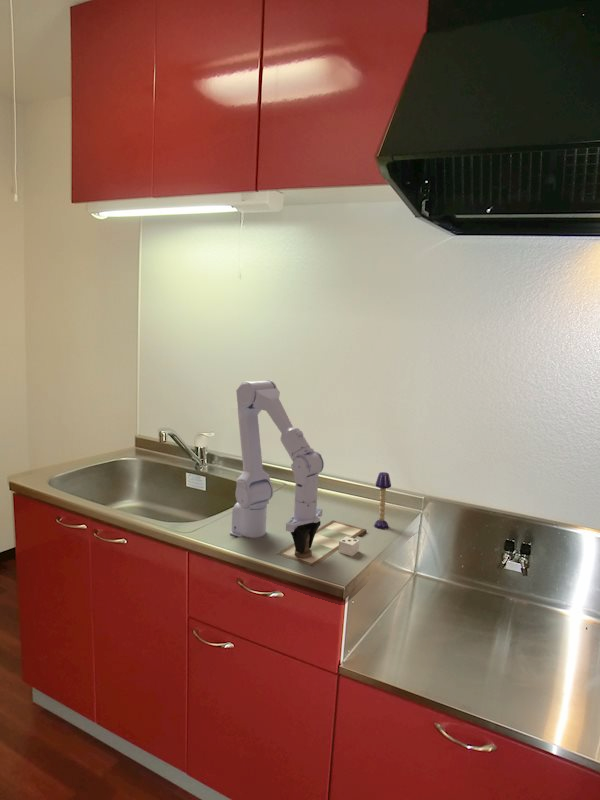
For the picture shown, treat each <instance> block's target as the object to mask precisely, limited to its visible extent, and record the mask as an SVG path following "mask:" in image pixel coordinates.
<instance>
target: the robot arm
mask: <svg viewBox="0 0 600 800" xmlns="http://www.w3.org/2000/svg"><path fill="white" fill-rule="evenodd" d="M236 402H237V416H238V426H239V427H238V428H239V438H240V448H241V449H240V450H241V459H242V469H243V470H242V471H243V472H241V474H240V475H239V476H238V477H237V479H236V481H235V482H236V488H235V493H234V495H235V499H236V503H235V504H234V505H233V507H232V511H231V531H230V532H229V534H230V535H232V536H235V537H238V538H240V537H242V536H244V537H247V538H252V539H253V538H261V537H264V535H266V534H267V533H266V532H267V531H266V530H267V509H268V508H267V507H268V504H269V503H270V500H271V499H272V498H273V496H274V487H273V485H272V482H271V476H270V474H269V473H268V472H266V471H265V470H264V469H263V467H264V466H263V459H262V448H261V435H260V427H259V426H260V425H259V414H260V413H261V412H262V411H264V412H266V413H267V414H268V416H269V417H270V419H271V420H272V422H273V423H274V425H275V426H276V427H277V429H278V431H279V432H280V433H281V435H280V442H281V444H282V445H283V447H284V450H285V451H286V452H287V455H288V456H289V458H290V459H291V461H292V463H291V464H290V467H291V471H292V473H293V481H294V482H295V483H294V484H295V487H294V507H293V509H294V510H293V514H292V516H291V517H290V519H289V521H287V522H286V523H285V531H286V532H289V533H290V535H291V536H292V540H293V544H295V549H296V551H297V552H300V553H304V550H305V544H306V539H307V536H308V533H309V535H310V539H309V549H310V548H311V546H312V542H313V539H314V536H315V533H316V531H317V529H319V528H320V527H321V517H323V508H320V507H318V492H319V491H318V489H319V487H318V486H319V474H320V473H322V471H323V470H324V466H325V463H324V459H323V457H322V454H321V453H320V452H318V451H316V450H314V448H312V447H311V446H310V444H309V443H308V441H307V439H306V437H305V436H304V433H303V432H302V430H301V429H300V428H298V427H294V426H293V424H292V422H291V420H290V418H289V416H288V414H287V412H286V410H285V408H284V406H283V404H282V402H281V399H280V390H279V389H278V387H277V384H276V383H275V382H274V381H273V380H271V379H267V380H259V381H242V382H241V384H239V387H238V388H237V389H236Z"/></svg>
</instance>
